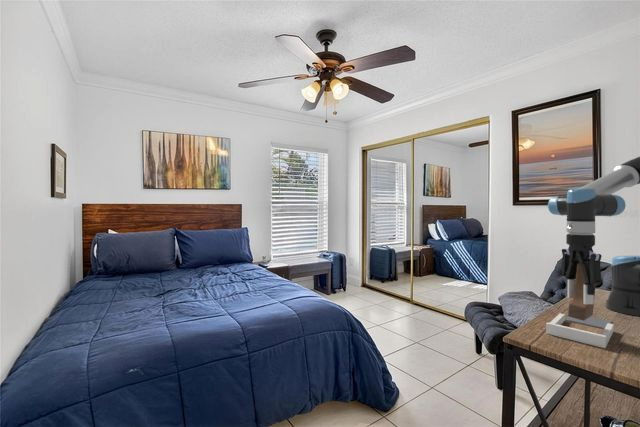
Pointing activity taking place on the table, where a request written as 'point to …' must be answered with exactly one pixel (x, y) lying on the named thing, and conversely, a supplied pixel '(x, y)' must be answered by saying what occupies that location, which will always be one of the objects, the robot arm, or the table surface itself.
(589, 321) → the pad
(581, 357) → the table surface
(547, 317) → the table surface
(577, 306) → the wooden block
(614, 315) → the table surface
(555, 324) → the white u-shaped bracket
